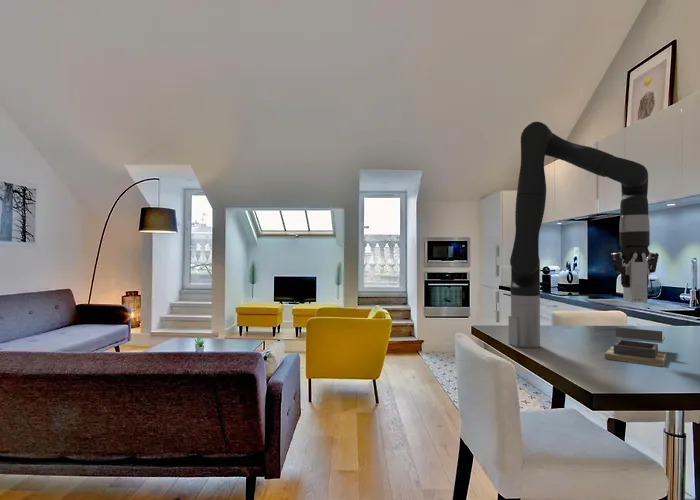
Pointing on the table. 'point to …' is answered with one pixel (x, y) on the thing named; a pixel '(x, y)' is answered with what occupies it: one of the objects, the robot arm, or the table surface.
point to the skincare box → (637, 283)
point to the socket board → (636, 353)
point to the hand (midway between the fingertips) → (634, 287)
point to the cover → (639, 335)
